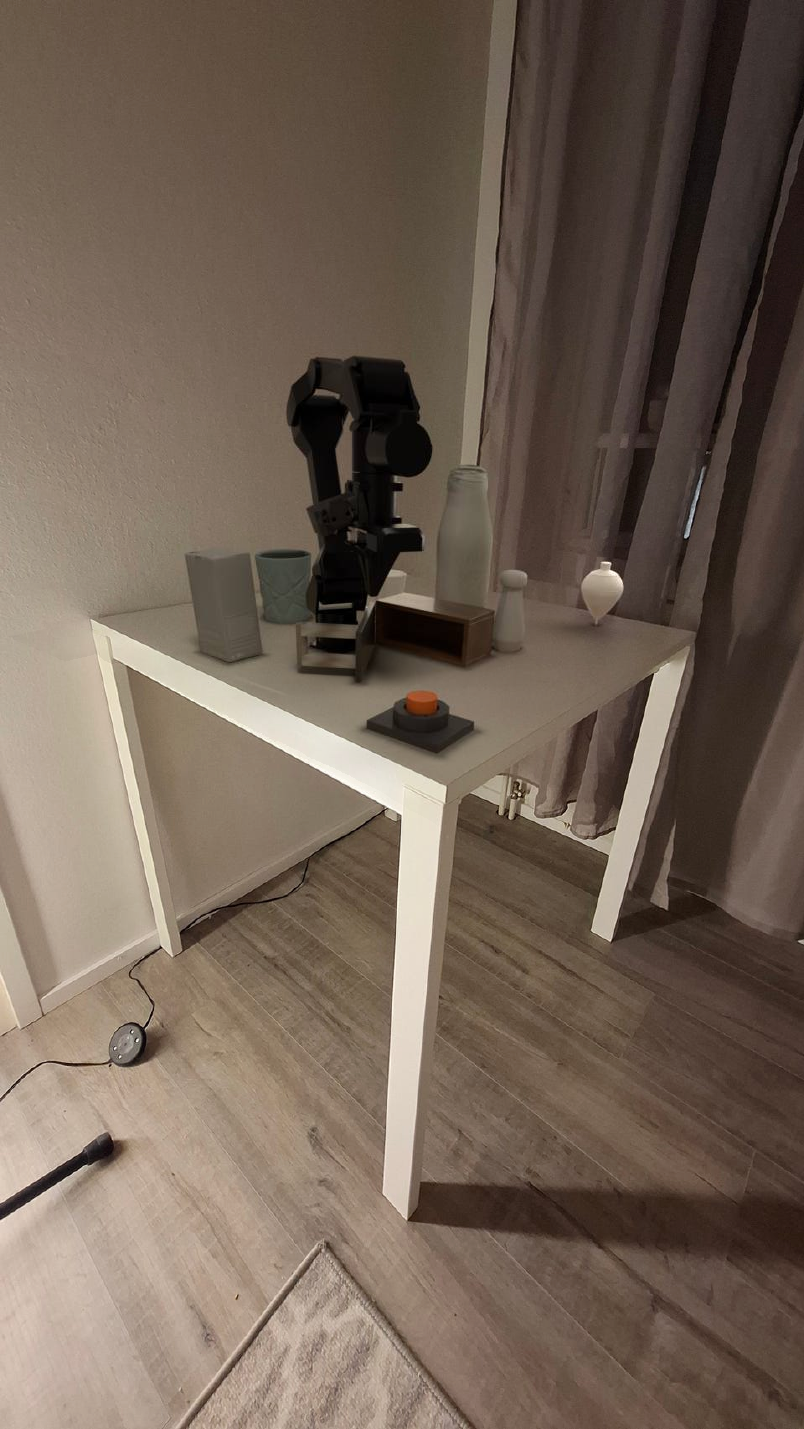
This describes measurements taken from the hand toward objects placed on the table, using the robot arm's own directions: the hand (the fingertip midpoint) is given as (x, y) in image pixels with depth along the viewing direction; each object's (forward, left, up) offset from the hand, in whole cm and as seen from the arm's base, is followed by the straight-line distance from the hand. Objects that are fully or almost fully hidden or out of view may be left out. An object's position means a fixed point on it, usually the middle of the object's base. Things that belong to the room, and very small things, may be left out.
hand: (372, 596), depth 83 cm
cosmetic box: (-24, -6, -12) cm, 28 cm away
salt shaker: (+8, +26, -12) cm, 30 cm away
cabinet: (-1, +17, -12) cm, 21 cm away
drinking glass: (-33, +15, -12) cm, 38 cm away
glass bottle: (-8, +37, -12) cm, 40 cm away
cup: (-22, +30, -12) cm, 39 cm away
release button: (+15, -9, -9) cm, 20 cm away
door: (-9, +3, -12) cm, 15 cm away
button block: (+15, -10, -12) cm, 21 cm away
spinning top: (+14, +52, -12) cm, 55 cm away
